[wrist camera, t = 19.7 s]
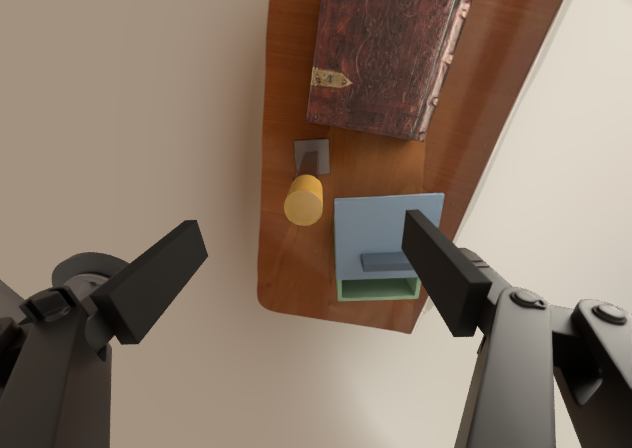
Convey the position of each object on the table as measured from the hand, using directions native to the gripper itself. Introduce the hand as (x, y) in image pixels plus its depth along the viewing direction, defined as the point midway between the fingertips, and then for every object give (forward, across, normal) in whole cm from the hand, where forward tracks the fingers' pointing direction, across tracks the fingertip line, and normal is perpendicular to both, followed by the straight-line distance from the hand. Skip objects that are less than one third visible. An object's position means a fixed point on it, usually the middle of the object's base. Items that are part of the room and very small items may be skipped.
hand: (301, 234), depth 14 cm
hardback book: (+30, +12, +18) cm, 37 cm away
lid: (+21, +11, -13) cm, 27 cm away
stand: (+29, 0, 0) cm, 29 cm away
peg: (+9, 0, 0) cm, 9 cm away
